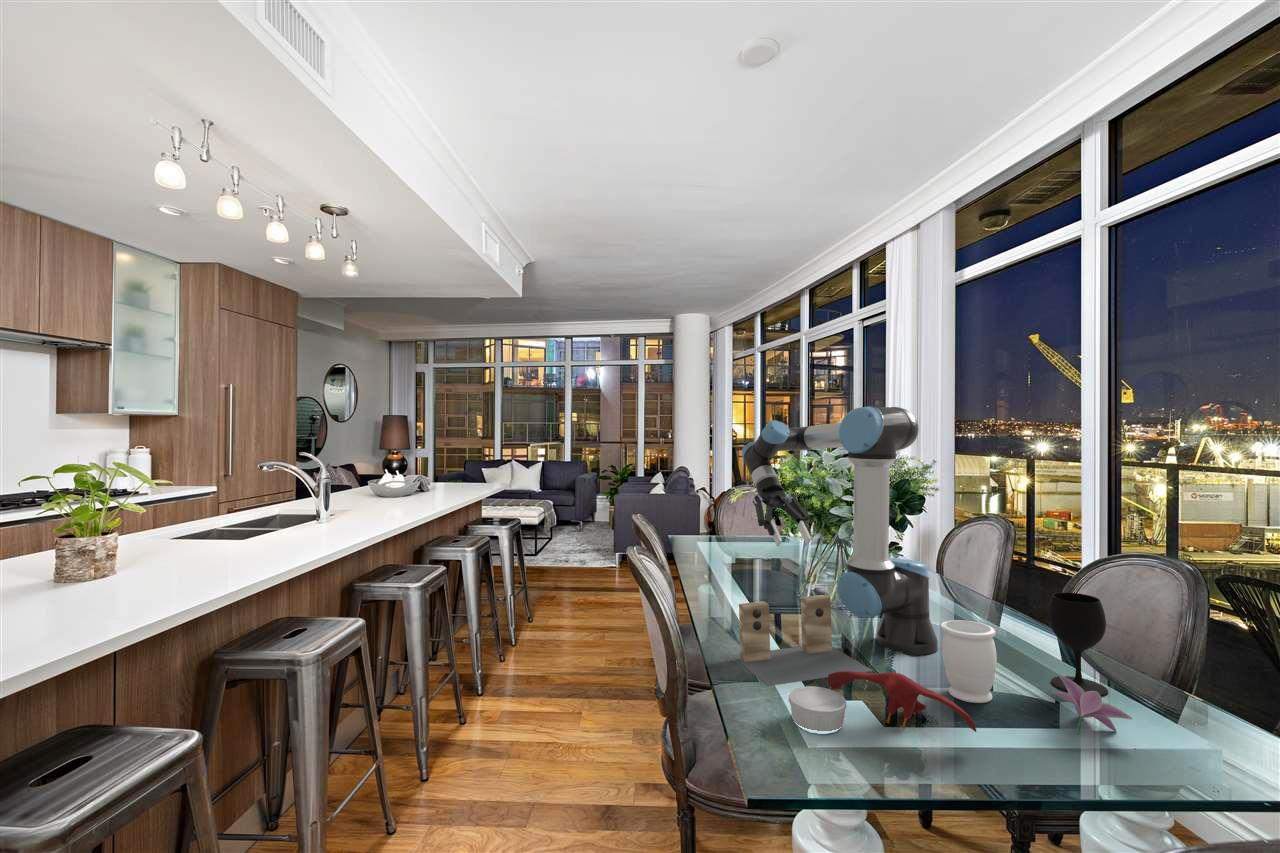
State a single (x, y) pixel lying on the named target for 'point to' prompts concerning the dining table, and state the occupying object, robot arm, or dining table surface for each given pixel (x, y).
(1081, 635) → the wine glass
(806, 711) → the ramekin
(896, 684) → the red dinosaur figurine
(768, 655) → the tile two
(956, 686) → the jar
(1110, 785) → the dining table surface
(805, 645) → the tile one
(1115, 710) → the lily
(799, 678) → the mat
